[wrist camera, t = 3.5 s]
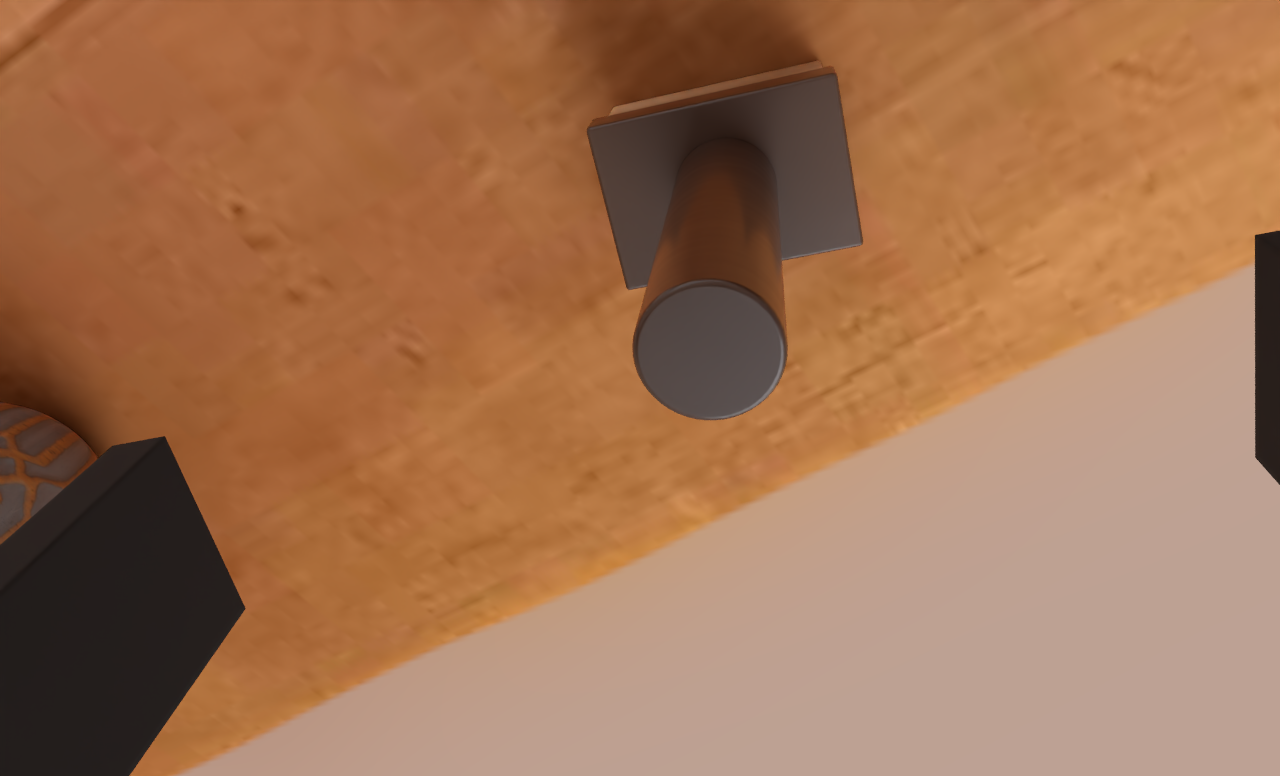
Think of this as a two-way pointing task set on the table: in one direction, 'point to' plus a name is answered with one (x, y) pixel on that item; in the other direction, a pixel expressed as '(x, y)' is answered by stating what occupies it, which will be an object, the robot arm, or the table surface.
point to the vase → (35, 463)
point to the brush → (723, 225)
